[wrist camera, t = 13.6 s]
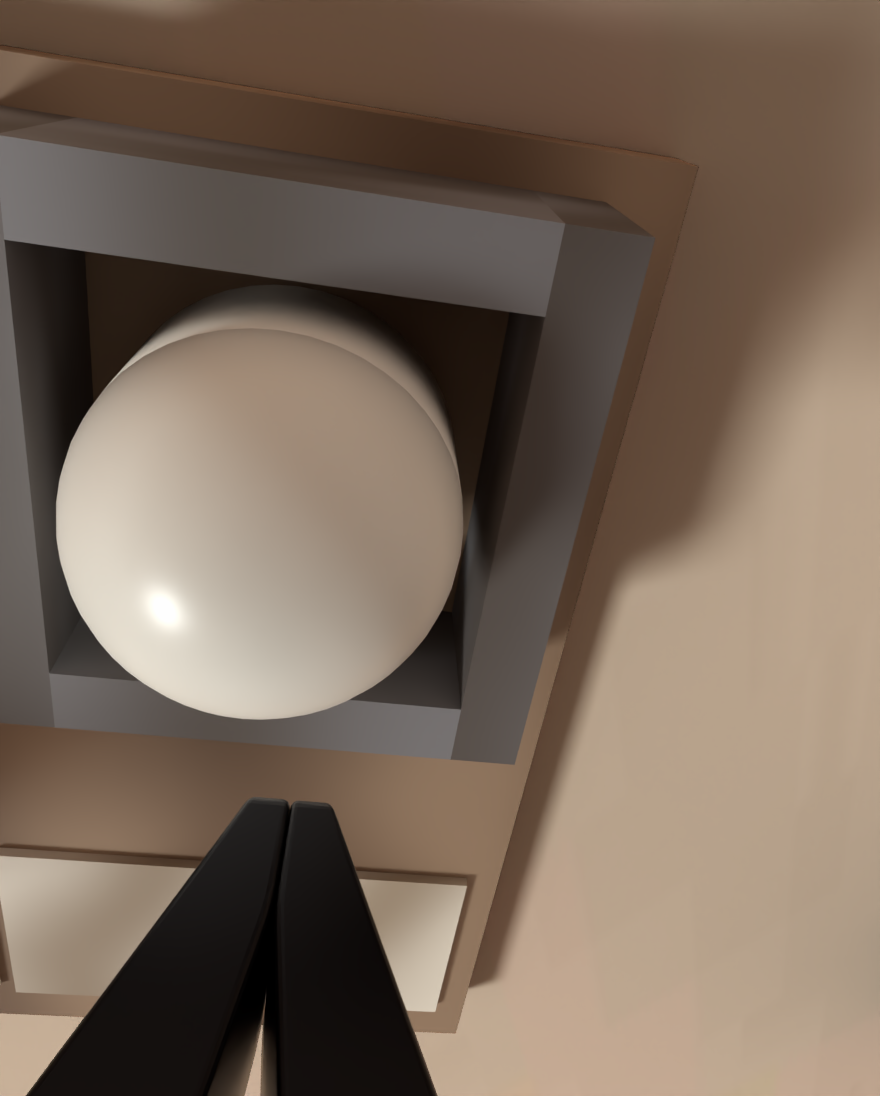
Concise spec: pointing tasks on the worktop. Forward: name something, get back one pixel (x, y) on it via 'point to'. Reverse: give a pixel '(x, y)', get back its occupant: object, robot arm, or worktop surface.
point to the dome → (263, 505)
